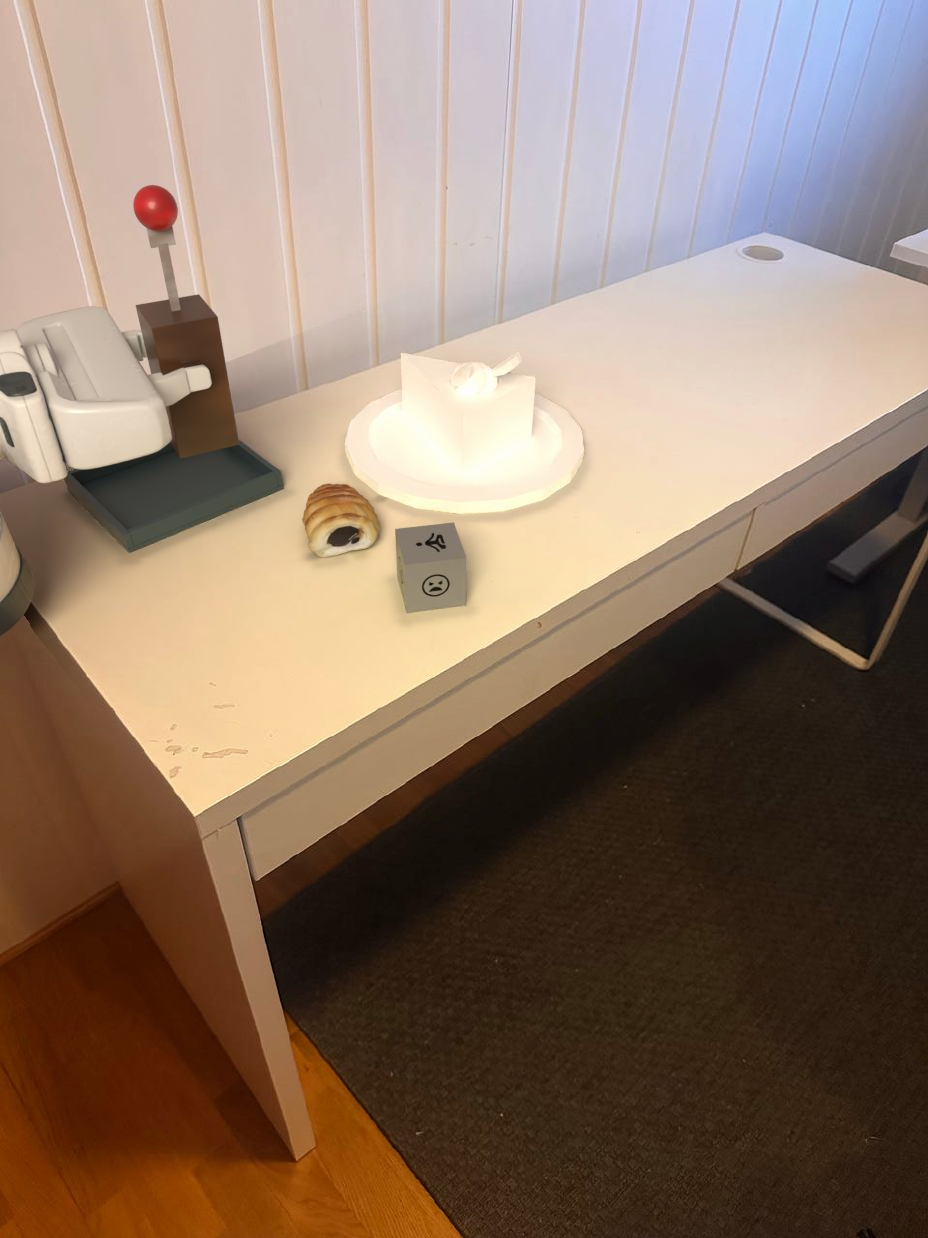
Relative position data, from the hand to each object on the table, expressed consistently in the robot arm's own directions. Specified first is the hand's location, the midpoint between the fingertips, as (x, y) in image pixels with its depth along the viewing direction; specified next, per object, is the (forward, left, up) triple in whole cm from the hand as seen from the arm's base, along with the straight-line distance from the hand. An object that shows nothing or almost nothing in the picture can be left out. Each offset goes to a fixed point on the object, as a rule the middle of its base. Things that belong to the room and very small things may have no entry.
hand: (196, 357), depth 71 cm
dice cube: (+8, -19, -17) cm, 27 cm away
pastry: (+7, -7, -17) cm, 20 cm away
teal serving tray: (-1, +9, -17) cm, 19 cm away
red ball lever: (-1, 0, -7) cm, 7 cm away
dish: (+26, -3, -17) cm, 32 cm away
